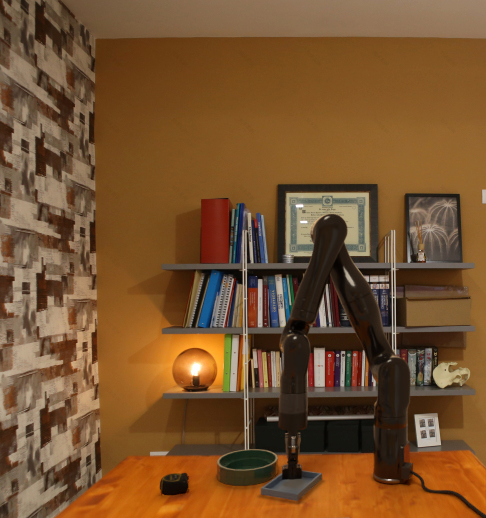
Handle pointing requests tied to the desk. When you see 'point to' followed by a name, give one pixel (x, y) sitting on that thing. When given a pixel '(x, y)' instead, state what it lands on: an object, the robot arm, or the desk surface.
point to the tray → (291, 486)
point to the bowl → (247, 467)
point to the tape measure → (174, 483)
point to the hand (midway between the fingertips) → (291, 476)
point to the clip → (285, 472)
